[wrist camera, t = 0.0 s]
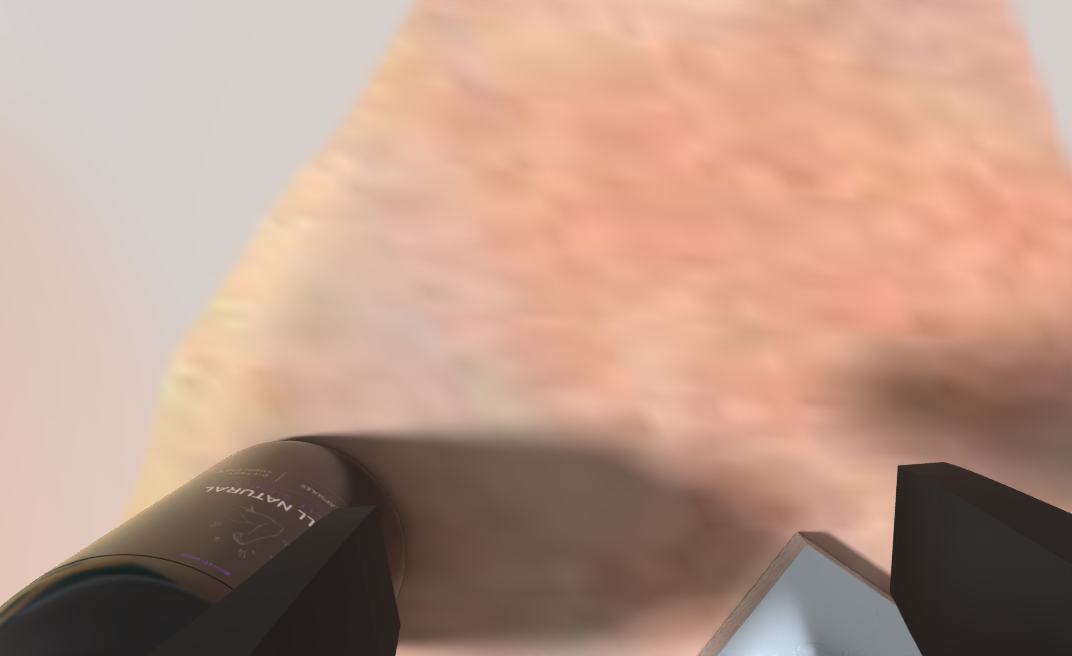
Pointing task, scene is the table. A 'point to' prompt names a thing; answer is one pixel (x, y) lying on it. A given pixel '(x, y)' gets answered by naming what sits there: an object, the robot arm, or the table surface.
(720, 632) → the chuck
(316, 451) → the supplement bottle
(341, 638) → the robot arm
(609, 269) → the table surface
